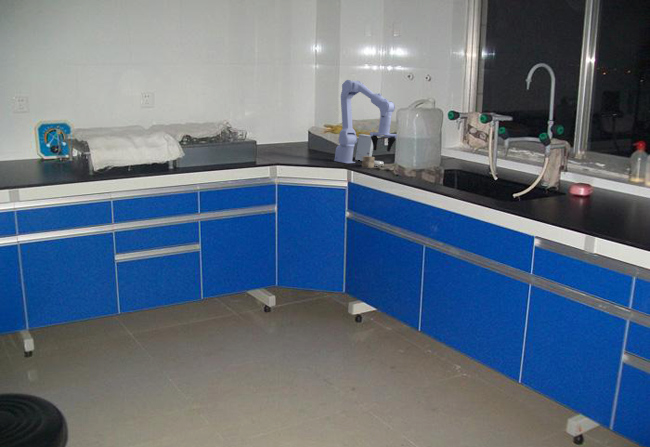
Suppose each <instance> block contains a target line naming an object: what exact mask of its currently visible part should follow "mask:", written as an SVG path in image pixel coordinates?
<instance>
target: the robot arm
mask: <svg viewBox="0 0 650 447" xmlns="http://www.w3.org/2000/svg"><path fill="white" fill-rule="evenodd" d="M341 89H342V90H341V93H340V106H341V108H340V109H341V123H342V124H341V125H342V129H341V130H340V131H339V137H338V143H339V145H337V146H336V148H335V153H334V160H333V162H337V163H343V164H356V161H353V157H354V149H355V147H356V146H355V145H356V144H358V136H357V133H356V130H355V129H354V128H353V112H352V111H353V110H352V99H353V97H355V96H356V95H357V94H359V93H361V94H363V95H364V96H365V97H367V98H369V99H370V103H372V104H373V105H374V106H375V107H377V108H378V109H379V111H380V112H379V114H380V117H379V126H378V131H377V132H376V131H370V132H369V135H370V136H371V139H372V142H373V151H377V147H378V146H377V145H378V141H379V137H380V138H387V147H386V151H387V152H390V151H391V148H392V147H393V145H394V142H396V139H398V134H396V133H390V131H391V124H392V114H393V112H394V111H395V109H396V105H395V103H394V102H393V101H389V100H388V98H385V97H384V96H382V93H377V92H373V91H372V90H371V89H370V88H369V87H367V86H366V85H365V84H364V83H363V82H361V81H360V80H351V79H346V80H344V82H343V83H342V85H341Z"/></svg>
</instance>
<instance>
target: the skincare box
mask: <svg viewBox="0 0 650 447" xmlns="http://www.w3.org/2000/svg"><path fill="white" fill-rule="evenodd" d="M356 144H357V145H356V152H355V161H358V160H360V161H361V162H362V160H363V156H371V157H373V156H372V155H373V151H374V150H373V142H372V139H371V136H370V134H364V133H359V134H358V137H357V143H356Z"/></svg>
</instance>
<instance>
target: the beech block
mask: <svg viewBox="0 0 650 447" xmlns="http://www.w3.org/2000/svg"><path fill="white" fill-rule="evenodd" d="M375 159H376V157H375V156H372V157H371V156H363V160H362V161H361V167H364V168H368V169H369V168H374V167H375V166H374V160H375Z"/></svg>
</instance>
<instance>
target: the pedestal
mask: <svg viewBox="0 0 650 447" xmlns="http://www.w3.org/2000/svg"><path fill="white" fill-rule="evenodd" d="M380 164H383V165H384V161H383V160H375V159H374V167H375V166H378V165H380Z"/></svg>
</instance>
